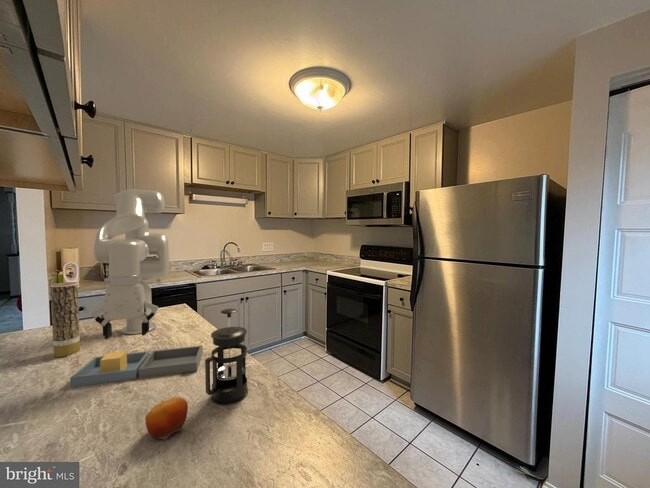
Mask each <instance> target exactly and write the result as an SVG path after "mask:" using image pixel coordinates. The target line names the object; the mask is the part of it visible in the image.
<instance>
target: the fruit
mask: <svg viewBox="0 0 650 488" xmlns="http://www.w3.org/2000/svg"><path fill="white" fill-rule="evenodd" d="M151 408H152V409H150V411H149V412H148V413H147V414H146V416H145V427H146V430H147V432H148V434H149V435H150V436H151V437H152V438H154V439H156V440H164V441H167V439H168V438H169V437H170V436H171V435H173V433H176V432H178V431H184V432H186V430H185V429H184V425H185V423H186V421H187V415H188V409H189V404H188V402H187V400H186V399H185V398H183V397H182V396H181V397H180V396H173V397H171V398H169V399H165V400H161V401H160V402H159V403H157V404H155V405H154V406H152V407H151Z"/></svg>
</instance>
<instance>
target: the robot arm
mask: <svg viewBox="0 0 650 488" xmlns="http://www.w3.org/2000/svg"><path fill="white" fill-rule="evenodd" d="M114 202H115V206H116V215H115V217H113V218H111V219H109V220H108V221H107V222H105V223H104V224H102V226H100V227H99V228H98V230H97V232H96V235H95V238H94V244H93V256H94V259H95V260H96V261H97V262H99V263H102V264H108V265H109V266H108V267H109V268H108V269H109V271H108V273H109V276H108V277H104V279H103V282H104V283H107V284H108V285H109V286H106V288H105V293H104V299H103V300H104V301H103V306H101V307H99V308H97V309H94V310H93V311H91V314H90V315H92V317H93V318H94V320H95V322H96V323H98V324H99V325H100V326H101V327H102V336H104V340H108V339H109V338H111V337H112V334H113V333H112V332H113V331H112V330H113V329H112V328H113V326H112V323H111V321H120V320H121V321H122V320H125V327H123V328H121V333H122V334H123V335H138V334H141V335H142V336H143V337H144V336H146V335H147V333H148V332H150V331H153V330H154V329H157V324H156V323H155V322H153V317H154V316H155V315H156V313H157V311H158V310H159V306H158V305H155V304H153V303H152V289H151V286H150V285H149V284H148V283H147V282H146V281H145V280H156V279H164V278H167V277H168V275H169V274H170V253H169V248H170V247H169V239H168V237H167V236H166V234H164V233H161V232H160V233H157V232H155V233H154V232H151V233H150V232H149V221H148V219H147V218H146V215H145V214H147V213H148V214H161V213H163V212H164V210H165V205H166V204H165V199H164V196H163V194H162V193H161V192H159V191H157V190H150V189H149V190H148V189H133V188H131V189H125V190H122V191H120V192H118V193H116V194H115V196H114ZM120 235H125V236H124V237H125V238H124V239H123V238H122V239H120V238H119V239H118V238H117V239H116V237H118V236H120ZM114 238H115V239H114ZM150 255H155V256H157V257H148V256H150ZM101 312H102V314H103V315H101Z"/></svg>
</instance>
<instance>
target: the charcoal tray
mask: <svg viewBox="0 0 650 488" xmlns="http://www.w3.org/2000/svg"><path fill="white" fill-rule="evenodd" d="M202 357H203V345H193V346H186V347H176V348H166V349H157V350H152V351H150V355H149V356H148V358H147V359H146V360H145V362H144V363H143V364H142V366H141V367H140V368H139V375H138V379H142V378H151V377H158V376H165V375H166V376H167V375H172V374H173V375H174V374H188V373H189V374H190V373H197V372H198V369H199V366H200V363H201V360H202Z"/></svg>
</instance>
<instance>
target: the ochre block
mask: <svg viewBox="0 0 650 488" xmlns="http://www.w3.org/2000/svg"><path fill="white" fill-rule="evenodd" d="M127 353H128V352H127V350H124V351H123V350H121V351H114V352H106V354H105V355H103V356H104V357H103V358H102V359H101V360H100V372H101V373H103V372H111V371H119V370H124V369H125V368H126V367H127Z"/></svg>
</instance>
